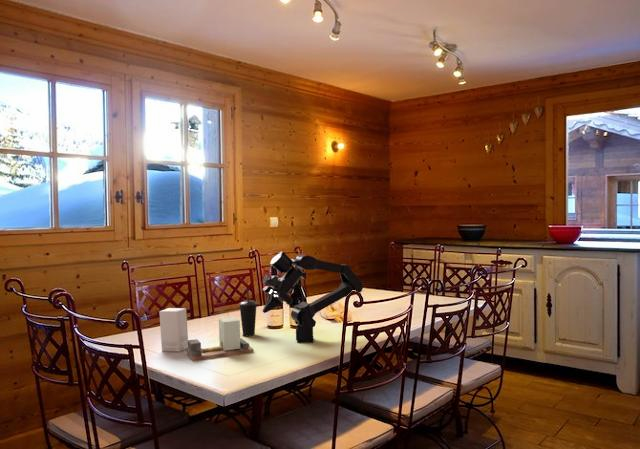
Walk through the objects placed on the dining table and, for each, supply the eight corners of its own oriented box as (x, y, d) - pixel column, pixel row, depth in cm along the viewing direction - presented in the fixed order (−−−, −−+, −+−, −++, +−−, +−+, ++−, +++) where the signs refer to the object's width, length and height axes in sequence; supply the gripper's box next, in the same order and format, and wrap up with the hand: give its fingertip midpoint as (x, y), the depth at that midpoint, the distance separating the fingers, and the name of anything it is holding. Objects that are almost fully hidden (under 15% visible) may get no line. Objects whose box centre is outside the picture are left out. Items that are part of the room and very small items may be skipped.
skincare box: (189, 348, 201) (187, 308, 200) (179, 352, 195) (177, 311, 194) (170, 346, 204) (169, 307, 203) (160, 351, 197) (158, 310, 197)
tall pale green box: (234, 344, 199) (234, 316, 198) (240, 348, 193) (239, 320, 192) (219, 346, 196) (218, 318, 196) (224, 350, 190) (223, 322, 190)
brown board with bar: (245, 345, 202) (244, 331, 202) (253, 352, 193) (253, 337, 193) (186, 354, 192) (186, 339, 192) (192, 361, 183) (192, 345, 183)
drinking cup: (254, 337, 215) (253, 289, 214) (237, 337, 217) (235, 289, 216) (260, 333, 223) (259, 286, 222) (243, 332, 224) (242, 286, 223)
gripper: (266, 265, 210) (241, 296, 206) (283, 269, 193) (256, 302, 189) (285, 283, 214) (261, 313, 209) (303, 288, 197) (277, 321, 193)
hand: (263, 312), depth 200 cm, fingers closed
